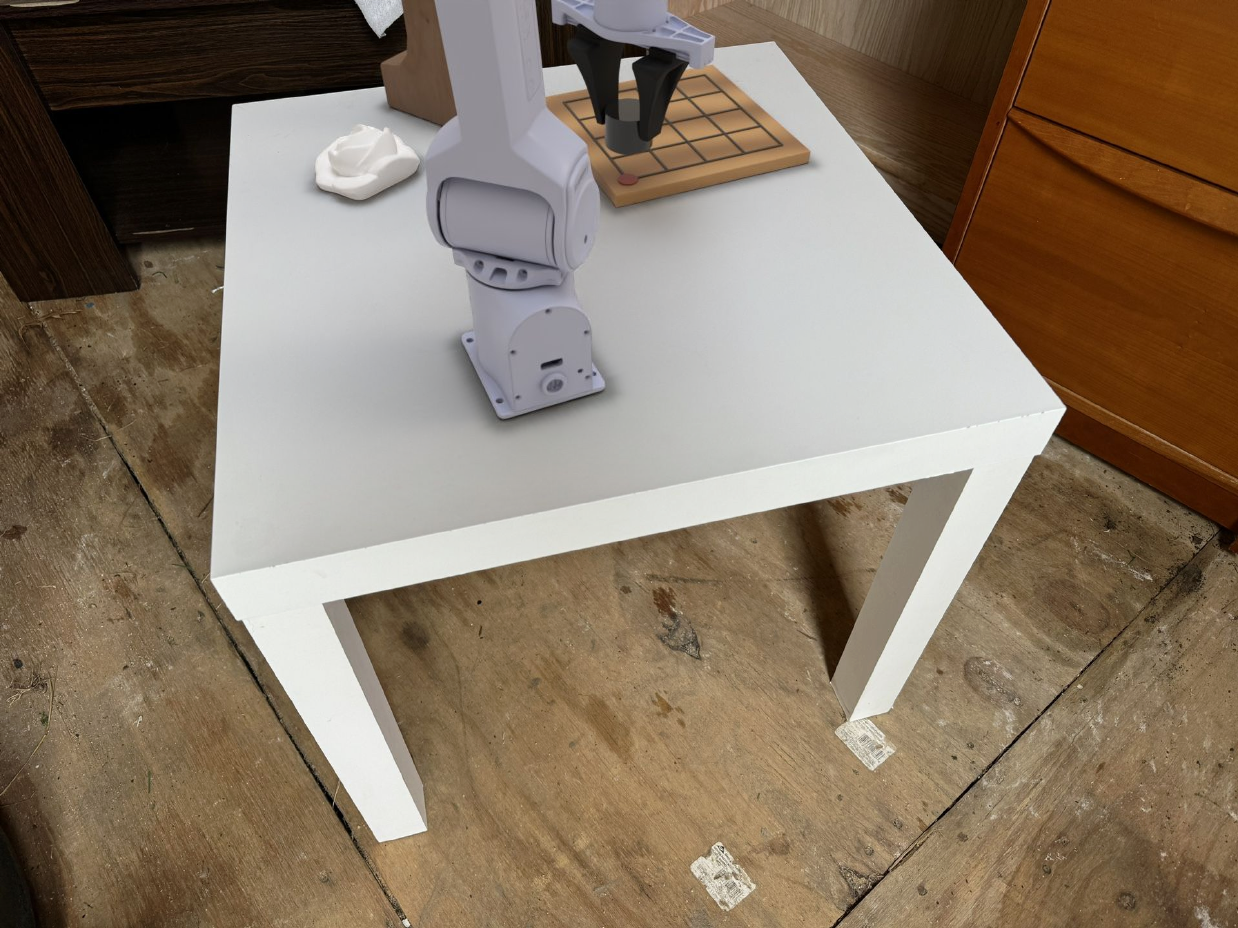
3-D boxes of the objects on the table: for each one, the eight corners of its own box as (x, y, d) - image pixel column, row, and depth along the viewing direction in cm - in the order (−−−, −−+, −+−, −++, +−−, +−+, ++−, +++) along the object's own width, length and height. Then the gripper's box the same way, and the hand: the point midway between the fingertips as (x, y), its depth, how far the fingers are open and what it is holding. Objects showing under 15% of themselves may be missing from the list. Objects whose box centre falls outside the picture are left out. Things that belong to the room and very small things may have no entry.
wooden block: (386, 107, 91) (348, -92, 77) (416, 90, 93) (384, -105, 80) (453, 131, 88) (424, -72, 74) (482, 113, 90) (459, -86, 77)
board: (808, 163, 84) (811, 150, 83) (616, 208, 79) (616, 194, 78) (711, 75, 96) (712, 63, 95) (539, 109, 91) (538, 97, 90)
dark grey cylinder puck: (660, 149, 76) (662, 116, 74) (616, 159, 75) (616, 125, 73) (640, 127, 79) (641, 94, 76) (597, 136, 78) (596, 103, 75)
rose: (406, 158, 75) (291, 159, 75) (414, 204, 79) (305, 205, 79) (420, 103, 82) (315, 103, 82) (428, 147, 85) (327, 148, 85)
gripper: (743, -39, 65) (725, 134, 75) (587, -80, 71) (590, 87, 81) (690, -10, 61) (679, 169, 71) (530, -55, 67) (541, 117, 77)
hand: (628, 128), depth 76 cm, fingers closed on dark grey cylinder puck, 4 cm apart
